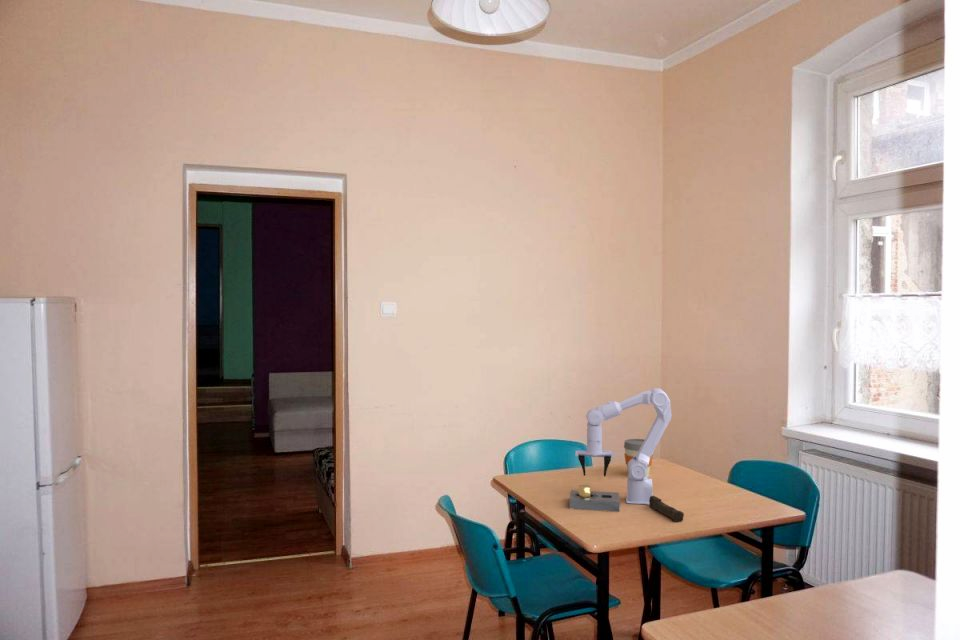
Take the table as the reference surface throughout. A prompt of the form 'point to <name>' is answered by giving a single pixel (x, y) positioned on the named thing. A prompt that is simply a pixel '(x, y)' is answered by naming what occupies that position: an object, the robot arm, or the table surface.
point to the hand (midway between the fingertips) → (594, 475)
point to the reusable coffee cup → (634, 451)
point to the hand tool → (665, 509)
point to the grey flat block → (595, 501)
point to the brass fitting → (584, 491)
